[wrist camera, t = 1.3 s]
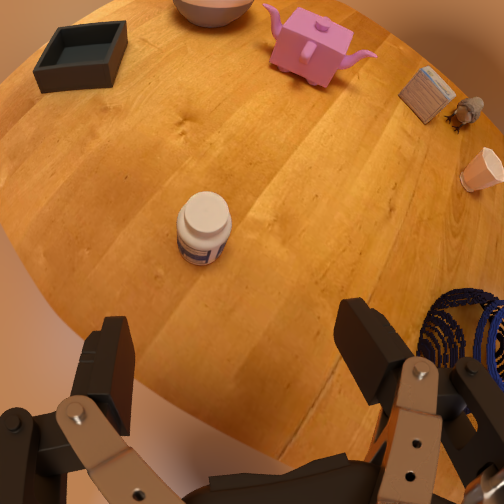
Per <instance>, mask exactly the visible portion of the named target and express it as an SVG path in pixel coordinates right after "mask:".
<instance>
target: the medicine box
mask: <svg viewBox="0 0 504 504" xmlns="http://www.w3.org/2000/svg"><path fill="white" fill-rule="evenodd" d="M398 95H399V96H400V97H401V98H402V100H403V101H404V102H405V103H406V104H407V105H408V106H409V107H410V108H411V109H412V110H413V111H414V112H415V113H416V115H417V116H418V117H419V118H420V119H421V120H422V121H423V122H424V124H426V123H427V122H429V121H430V120H431V119H433V118H434V117H435V116H436V115H437V114H438V113H439V112H440V111H441V110H442V109H443V108H444V107H445V106H446V105H447V104H448V103H449V102H450V101H451V100H452V99H453V98H454V97H455V96H456V94H455V93H454V92H453V90H452V89H451V88H450V87H449V86H448V85H447V84H446V83H445V82H444V81H443V79H442V78H441V77H440V76H439V75H438V74H437V73H436V72H435V71H434V70H433V69H432V68H431V67H430V66H426V67H424V68H421V69H419V70H418V72H417V73H416V74H415V75H414V76H413V78H412V79H411V80H410V81H409V82H408V84H407V85H406V86H405V87H404V88H403V90H402V91H401V92H400V93H399V94H398Z"/></svg>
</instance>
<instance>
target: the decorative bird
mask: <svg viewBox="0 0 504 504" xmlns="http://www.w3.org/2000/svg"><path fill="white" fill-rule="evenodd" d="M483 106H484V103H483V100H482V99H481V98H479V97H474V98H472V99H471V98H469V99H468V98H466V99H464V100H462V101H461V102H459V103H458V105H457V110H456V111H455V112H454V114H452V115H451V116H445V117H447V118H448V119H447V120H449V121H451V117H452V116H454V115H455V114H456V116H457V119H458V120H459V121H460V122H463V123H462V124H461V125H460V126H459V127H455V126H452V127H455V128H456V129H455V131H456V130H457V131H458V133H459V128H460V127H461V126H462V125H464V124H466V123H468V122H469V123H474V122H475V121H476V120H477V119H478V118H479V116H480V112H481V110H482V108H483ZM447 120H446V121H447ZM449 124H450V122H449Z"/></svg>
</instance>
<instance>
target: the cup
mask: <svg viewBox="0 0 504 504" xmlns="http://www.w3.org/2000/svg"><path fill="white" fill-rule="evenodd" d="M460 180H461V183H462V186H463V187H464V188H465V189H466V190H467V191H468V192H474V190H480V189H484V188H487V187H490V186H493V185H495V184H498V183H501V182H504V168H503V166H502V163H501V161H500V159H499V158H498V157H497V155H496V154H495V153H494V152H493V151H492V150H491V149H488V148H485V147H484V148H483V149H482V150H481V151H480V152H479V153H478V155H477V156H476V157H475V158H474V159H473V160H472V161H471V162H470V163H469V164H468V166H467V167H466V168H465V170H464V172H461V174H460Z"/></svg>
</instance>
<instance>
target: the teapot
mask: <svg viewBox="0 0 504 504" xmlns="http://www.w3.org/2000/svg"><path fill="white" fill-rule="evenodd" d="M263 6H264V7H265V8H266V9H267V10H268V11H269V12H270V15H271V30H272V34H273V37H274V38H275V39H276V40H277V41H276V44H275V47H274V50H273V52H272V55H271V58H270V61H269V62H271V63H273V64H275V65H278V69H279V70H280V71H282V72H289V71H291V72H293V73H296V74H298V75H300V76H302V77H304V78H306V80H307V82H308V83H309V84H311V85H314V86H316V85H318V84H319V85H321V86H323V87H325V88H326V87H327V86H328V84H329V82H330V81H331V79H332V77H333V76H334V74H335V72H336V70H337V69H347V68H349V67H351V66H353V65H354V64H355V63H356V62H358V61H359V60H360V59H362V58H365V57H376V58H377V57H378V56H377V55H376V54H374V53H373V52H371V51H368V50H360V51H358V52H356V53H354V54H353V55H348V56H347V55H346V52H347V50H348V47H349V44H350V42H351V39H352V37H353V34H354V32H352V31H350V30H348V29H346V28H344V27H342V26H340V25H338V24H336V23H334V22H332V21H331V20H330V19H329V18H328V17H321V16H319V15H317V14H314V13H312V12H310V11H307V10H305V9H302V8H300V7H298V8H297V9H296V10H295V11H294V13H293V14H292V15H291V16H290V17H289V19H288V20H287V21H286V22H285V24H284V25H282V24H281V21H280V15H279V12H278V11H277V9H276V8H274V7H273V6H271V5H268V4H263Z"/></svg>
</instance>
